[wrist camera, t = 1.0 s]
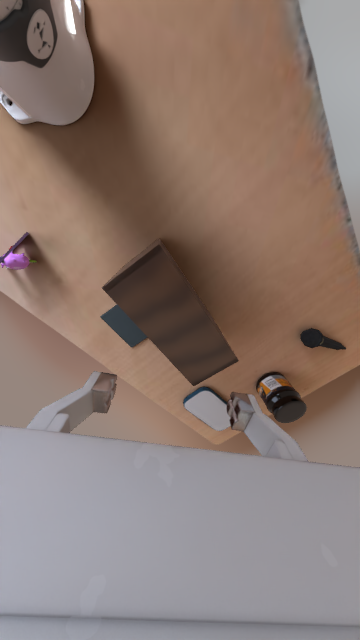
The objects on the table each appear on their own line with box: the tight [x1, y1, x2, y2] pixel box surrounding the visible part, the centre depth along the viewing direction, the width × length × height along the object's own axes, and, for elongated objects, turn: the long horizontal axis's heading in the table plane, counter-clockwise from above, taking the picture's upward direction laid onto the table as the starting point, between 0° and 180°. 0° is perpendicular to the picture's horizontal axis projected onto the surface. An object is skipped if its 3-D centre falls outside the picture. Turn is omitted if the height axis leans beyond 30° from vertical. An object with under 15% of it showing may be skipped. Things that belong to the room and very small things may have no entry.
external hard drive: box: [183, 387, 231, 431], centre depth 66 cm, size 24×12×2 cm, turn 41°
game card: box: [0, 232, 36, 270], centre depth 37 cm, size 7×5×9 cm
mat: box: [101, 305, 147, 347], centre depth 48 cm, size 12×10×1 cm
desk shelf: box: [102, 238, 238, 386], centre depth 38 cm, size 24×10×18 cm, turn 34°
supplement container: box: [256, 373, 306, 423], centre depth 58 cm, size 10×10×12 cm
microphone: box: [300, 328, 346, 350], centre depth 56 cm, size 6×6×20 cm
